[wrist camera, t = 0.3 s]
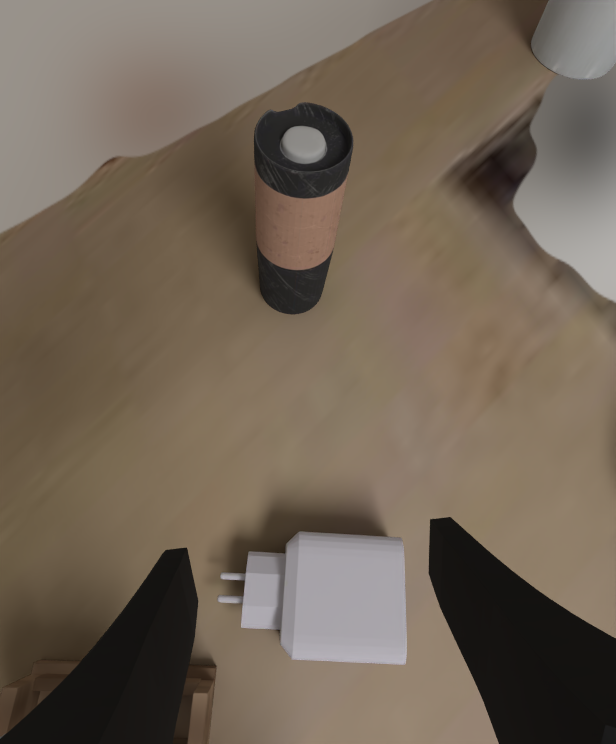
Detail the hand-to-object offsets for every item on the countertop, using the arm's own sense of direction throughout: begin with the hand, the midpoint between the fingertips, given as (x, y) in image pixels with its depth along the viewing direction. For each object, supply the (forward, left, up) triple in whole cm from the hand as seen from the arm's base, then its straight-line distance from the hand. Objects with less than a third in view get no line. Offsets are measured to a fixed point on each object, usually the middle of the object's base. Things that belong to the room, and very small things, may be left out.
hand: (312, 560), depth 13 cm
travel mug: (+29, +1, -30) cm, 42 cm away
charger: (-2, -2, -30) cm, 30 cm away
